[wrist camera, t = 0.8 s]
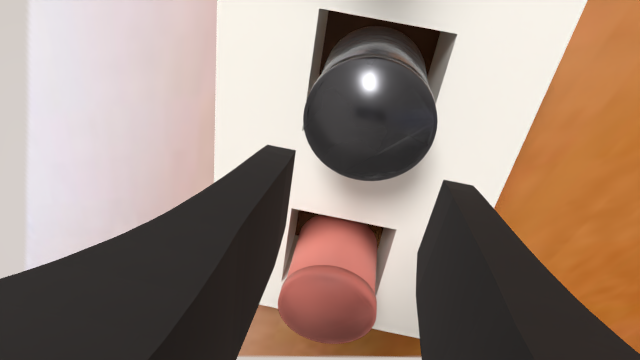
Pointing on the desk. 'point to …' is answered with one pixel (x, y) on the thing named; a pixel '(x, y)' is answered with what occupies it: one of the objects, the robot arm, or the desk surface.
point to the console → (450, 99)
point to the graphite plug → (371, 106)
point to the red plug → (331, 281)
